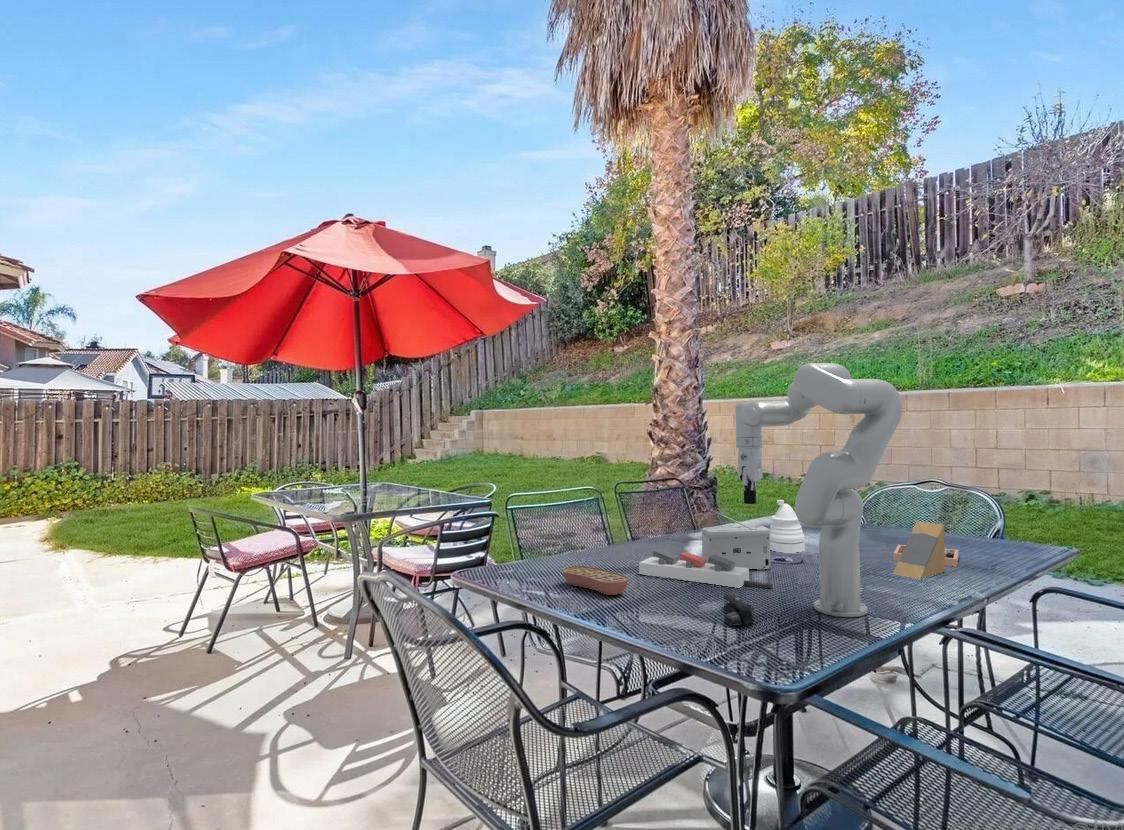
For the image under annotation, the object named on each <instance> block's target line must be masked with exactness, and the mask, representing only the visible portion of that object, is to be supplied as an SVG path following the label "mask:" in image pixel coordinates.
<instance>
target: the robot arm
mask: <svg viewBox="0 0 1124 830" xmlns="http://www.w3.org/2000/svg"><path fill="white" fill-rule="evenodd" d="M792 379H793V382H791V383H790V384H789V385H788V387H787V390H786V391H787V392H786V393H787V394H786V395H787V398H785V399H783V400H756V401H751V402H750V401H748V402H747V401H744V402H739V403H738V402H737V403H736V405H735V408H734V409H735V411H734V412H735V413H734V414H735V416H734V417H735V418H734V419H735V449H738V454H737V477H738V478H737V479H738V480H739V481H741V485H742V486H743V503H744V504H745V505H747V504H748V505H755V504H757V491H756V490H757V481H759V480H762V479H763V477H764V475H763V474H764V473H763V460H762V459H763V458H762V451H761V449H762V447H763V438H762V435H763V434H762V433H763V431H762V428H766V427H767V428H768V427H784V426H789V425H791V424H794V423H796V422H797V421H800V420H802V419H804V418H806V417H807V415H808V414H809V413H810V411H811V409H813V408H814V407H817V406H820V407H821V408H824V409H825V410H827V411H830V412H831V413H833V414H838V415H864V416H863V417H862V419H861V420H859V421H858V423H857V424H856V425H855V426H854V427H853V428H852V429H851V432H849V435H848V438H847V441H846V443H845V445H844V446H843V447H842V448H841V449H839V450H835V451H827V452H823V453H820V454H818V455H816V456H815V458H813V460H811V462H810V464H809V465H808V468H807V470H806V472H805V474H804V477H803V480H802V482H801V485H800V487H799V490H798V492H797V493H796V497H795V501H794V512H795V514H796V516H797V518H798V520H799V523H801V524H802V525H804V526H807V527H810V528H818V527H819V528H820V527H821V530H820V533H819V539H818V557H819V559H818V560H819V562H818V563H819V565H818V566H819V599H816V600H815V601H814V602H813V608H814V609H815V611H817V612H819V613H821V614H825V615H827V616H832V617H841V618H858V617H863V616H865V615H867V614H868V612H869V611H868V607H867V606H866V605H865V604H864V603H862V602H861V558H860V556H861V555H860V551H861V550H860V549H861V548H860V547H861V546H860V545H861V543H860V540H861V539H860V537H861V526H862V521H863V520H862V518H863V514H864V502H863V498H862V497H861V495H860V493H859V492H858V491H857V490H855V489H860V488H864V487H866V486H868V484H869V483H870V482H871V480H872V478H873V477H874V475H875V472H876V470H877V468H878V465H879V464H880V462H881V459H882V457H883V455H884V454H885V450H886V448H887V446H888V444H889V442H890V441H891V438H892V437H893V436H894V434H895V432H896V430H897V428H898V426H899V425H900V421H901V419H902V415H903V401H902V397H901V395H900V393H899V391H898V389H897V388H896V387H895V386H894V385H893V384H892V383H890V382H887V381H886V380H882V379H877V378H852V377H851V373H850V371H849V370H848V368H846V367H845V366H844V365H841V364H840V363H839V364H838V363H834V362H832V363H831V362H809V363H806V364H803V365H801V366H800V367H799V368H798V369H797V370H796V371H795V373H794V376H793V378H792Z"/></svg>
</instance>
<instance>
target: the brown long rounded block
mask: <svg viewBox="0 0 1124 830" xmlns="http://www.w3.org/2000/svg"><path fill="white" fill-rule="evenodd" d="M562 575H563V577H564V579H565V581H566V582H567V583H568V584H569V585H571V584H572V585H577V586H581V587H585V588H589V589H588V590H590V589H592V590H591V591H593V590H596V591H595V592H597V591H598V592H597V593H600V592H601V593H600V594H602V593H604V594H603V595H605V594H606V595H605V596H608V595H616V596H618V595H617V594H619V595H621V594H622V593H623V592H624V591H625V590H626V588H627V586H628V577H627V575H624V574H621V573H619V572H615V571H611V570H609V569H608V570H607V569H603V568H597V567H591V566H586V565H585V566H584V565H572V566H567V567H564V568H563V569H562ZM572 585H571V586H572ZM581 587H580V588H581ZM585 588H584V589H585Z"/></svg>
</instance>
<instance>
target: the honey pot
mask: <svg viewBox="0 0 1124 830" xmlns="http://www.w3.org/2000/svg"><path fill="white" fill-rule="evenodd" d="M776 503H777V505H778V506H779V507H778V509H777V510H776V512H775V513H774V515H771V517H770V519H771V520H772V521H771V524H770V525H769V526H770V527H769V529H770V550H772V551H771V552H773V551H776V552H775V553H778V552H783V553H782V554H797V553H796V552H802V551H804V552H805V551H806V541H805V538H806V536H805V534H804V532H803V531H804V530H803V529H802V528H803V527H802V525H801V524H800V523H801V522H800V521H799V520H798V518H797V516H796V513H795V509H793V507H791V505H789V504H788V503H785V500H784V499H777V500H776ZM802 553H803V552H802Z"/></svg>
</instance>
